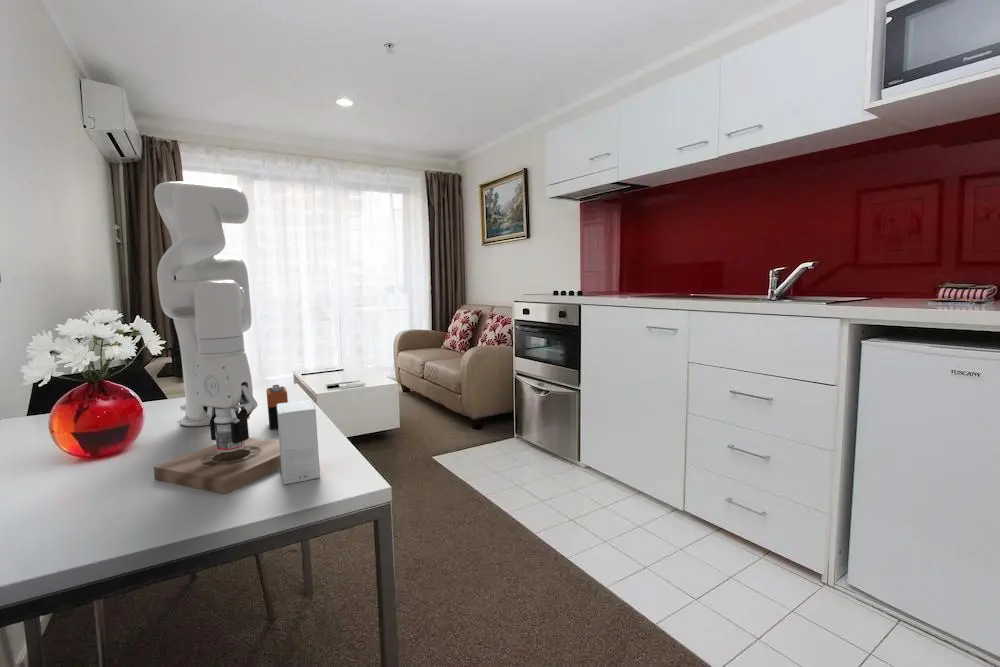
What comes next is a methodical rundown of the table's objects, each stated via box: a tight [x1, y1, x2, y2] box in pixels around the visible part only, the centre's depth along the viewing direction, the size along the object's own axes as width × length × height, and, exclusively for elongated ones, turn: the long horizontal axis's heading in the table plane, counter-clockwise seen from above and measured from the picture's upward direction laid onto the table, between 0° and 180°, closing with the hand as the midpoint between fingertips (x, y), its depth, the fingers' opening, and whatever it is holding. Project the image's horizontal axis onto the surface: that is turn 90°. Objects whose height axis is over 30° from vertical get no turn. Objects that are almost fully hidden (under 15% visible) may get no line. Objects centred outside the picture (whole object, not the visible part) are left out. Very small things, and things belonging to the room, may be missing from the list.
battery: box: [266, 384, 289, 430], centre depth 121 cm, size 4×7×10 cm, turn 28°
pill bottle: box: [214, 408, 245, 452], centre depth 94 cm, size 5×5×8 cm
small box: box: [277, 399, 321, 486], centre depth 90 cm, size 8×6×13 cm
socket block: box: [153, 437, 281, 495], centre depth 95 cm, size 18×18×2 cm
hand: (230, 438), depth 94 cm, fingers closed on pill bottle, 4 cm apart
